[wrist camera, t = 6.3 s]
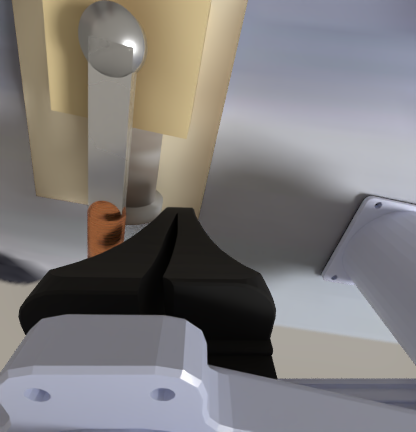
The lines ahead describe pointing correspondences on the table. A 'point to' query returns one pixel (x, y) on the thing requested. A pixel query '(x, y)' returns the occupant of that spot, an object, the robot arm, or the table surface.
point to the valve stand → (143, 104)
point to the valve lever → (109, 115)
